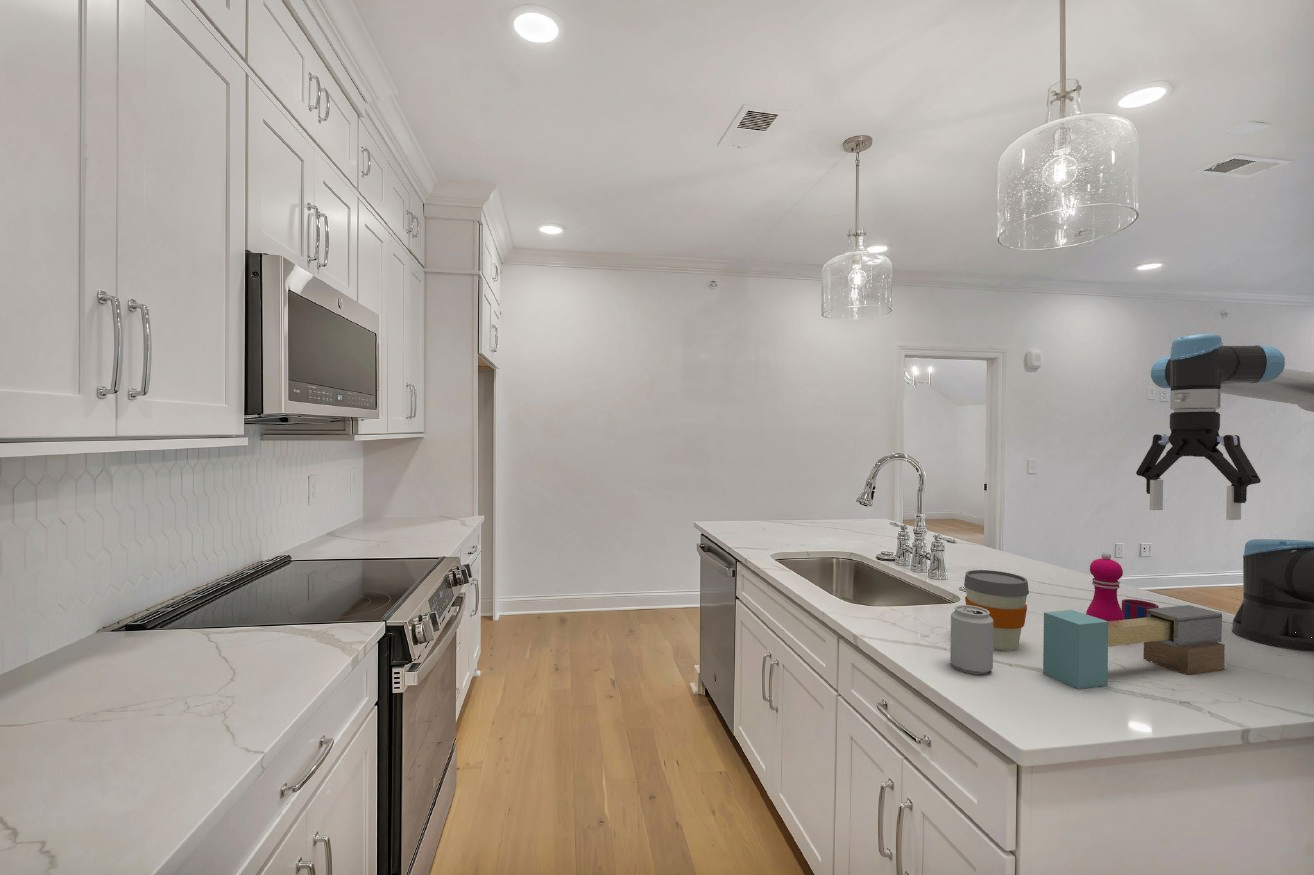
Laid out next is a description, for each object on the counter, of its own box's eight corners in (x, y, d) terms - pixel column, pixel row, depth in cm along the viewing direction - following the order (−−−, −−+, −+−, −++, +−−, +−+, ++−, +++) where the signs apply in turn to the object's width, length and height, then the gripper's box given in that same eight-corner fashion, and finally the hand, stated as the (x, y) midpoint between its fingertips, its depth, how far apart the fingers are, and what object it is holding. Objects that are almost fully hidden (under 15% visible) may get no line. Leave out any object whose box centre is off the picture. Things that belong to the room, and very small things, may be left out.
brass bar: (1169, 631, 118) (1170, 614, 118) (1188, 637, 114) (1189, 620, 114) (1063, 643, 111) (1064, 626, 111) (1080, 649, 107) (1081, 632, 107)
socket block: (1070, 669, 114) (1071, 609, 113) (1107, 685, 107) (1108, 621, 106) (1043, 672, 112) (1043, 612, 112) (1078, 689, 105) (1079, 624, 105)
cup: (1133, 625, 140) (1133, 597, 140) (1181, 639, 130) (1182, 610, 130) (1114, 628, 138) (1114, 600, 138) (1162, 643, 128) (1162, 613, 128)
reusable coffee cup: (1038, 656, 120) (1039, 585, 120) (973, 650, 123) (974, 581, 123) (1014, 635, 132) (1015, 571, 132) (956, 630, 135) (957, 568, 135)
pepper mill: (1110, 633, 134) (1112, 549, 134) (1133, 645, 127) (1134, 555, 126) (1078, 632, 135) (1079, 548, 134) (1098, 643, 127) (1100, 555, 127)
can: (992, 679, 109) (993, 617, 109) (948, 670, 113) (949, 610, 113) (993, 665, 115) (994, 606, 115) (951, 657, 119) (952, 600, 119)
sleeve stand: (1182, 653, 122) (1182, 603, 122) (1227, 669, 114) (1228, 615, 114) (1140, 659, 119) (1140, 607, 119) (1183, 675, 111) (1184, 619, 111)
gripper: (1117, 412, 127) (1115, 506, 128) (1259, 408, 103) (1257, 525, 104) (1142, 413, 129) (1141, 505, 130) (1287, 409, 105) (1285, 523, 105)
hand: (1192, 514), depth 117 cm, fingers open, 13 cm apart
